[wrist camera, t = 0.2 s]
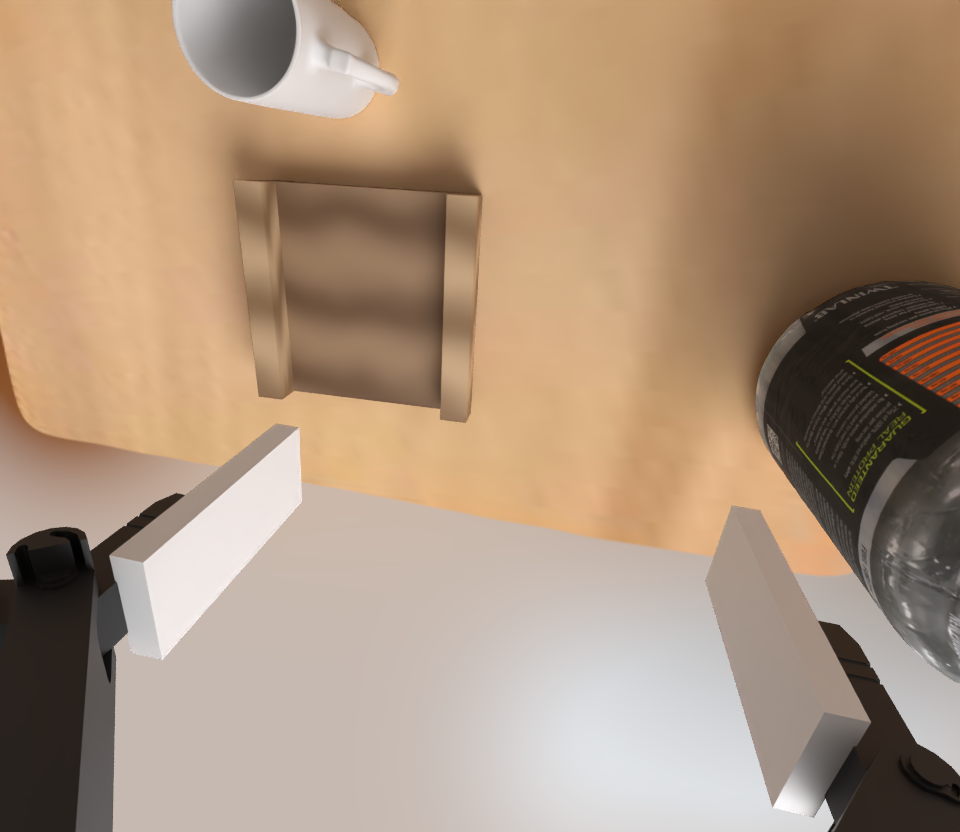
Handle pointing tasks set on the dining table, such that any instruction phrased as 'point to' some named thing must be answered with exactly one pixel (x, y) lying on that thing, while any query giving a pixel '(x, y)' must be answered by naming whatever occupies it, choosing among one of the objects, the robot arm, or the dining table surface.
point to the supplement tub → (879, 446)
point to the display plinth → (362, 291)
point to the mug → (282, 54)
